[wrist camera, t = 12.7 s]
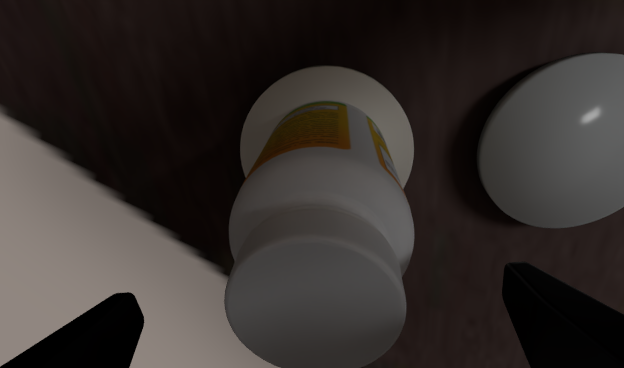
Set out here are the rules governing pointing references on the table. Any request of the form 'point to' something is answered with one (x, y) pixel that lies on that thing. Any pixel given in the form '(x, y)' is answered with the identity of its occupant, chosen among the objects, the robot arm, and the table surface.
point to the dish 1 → (329, 86)
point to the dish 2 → (558, 143)
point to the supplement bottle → (320, 243)
